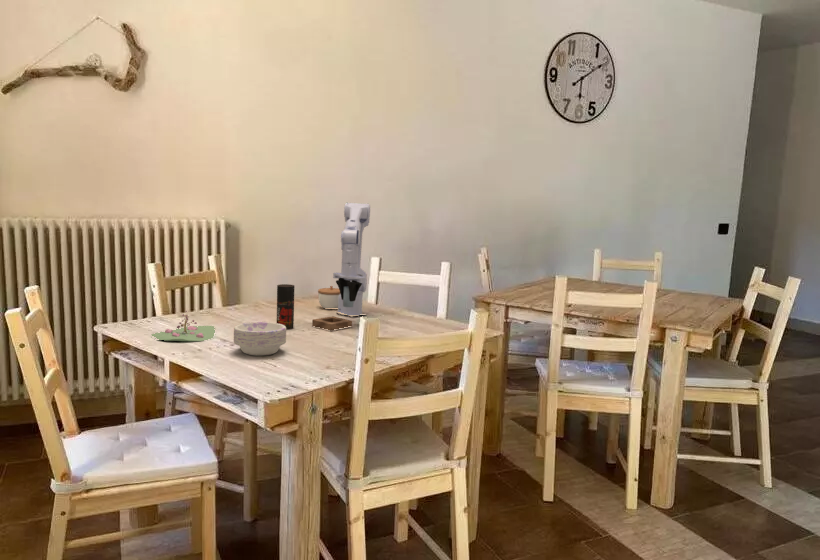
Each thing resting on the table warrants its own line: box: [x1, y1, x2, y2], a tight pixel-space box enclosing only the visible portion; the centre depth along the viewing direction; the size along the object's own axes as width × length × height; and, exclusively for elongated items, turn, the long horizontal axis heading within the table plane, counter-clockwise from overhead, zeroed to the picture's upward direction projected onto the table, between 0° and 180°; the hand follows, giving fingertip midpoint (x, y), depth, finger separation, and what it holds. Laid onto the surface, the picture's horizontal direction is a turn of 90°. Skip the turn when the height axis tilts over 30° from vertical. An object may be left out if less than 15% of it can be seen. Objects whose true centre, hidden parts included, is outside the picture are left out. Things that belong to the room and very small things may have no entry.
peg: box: [343, 286, 353, 307], centre depth 228 cm, size 4×4×7 cm
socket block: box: [311, 315, 353, 330], centre depth 227 cm, size 10×10×2 cm
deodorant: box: [276, 283, 295, 331], centre depth 221 cm, size 6×6×15 cm
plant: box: [151, 310, 216, 342], centre depth 206 cm, size 25×21×9 cm
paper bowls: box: [233, 321, 287, 357], centre depth 188 cm, size 15×15×8 cm
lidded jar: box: [317, 285, 340, 308], centre depth 260 cm, size 11×11×9 cm
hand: (348, 300), depth 229 cm, fingers closed on peg, 4 cm apart
